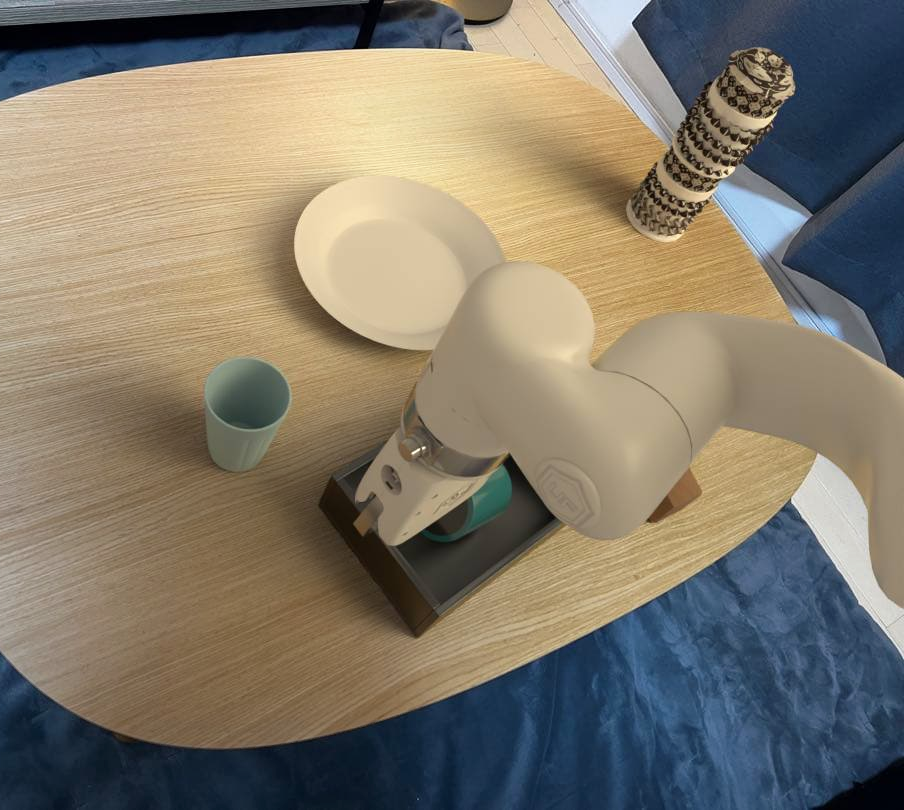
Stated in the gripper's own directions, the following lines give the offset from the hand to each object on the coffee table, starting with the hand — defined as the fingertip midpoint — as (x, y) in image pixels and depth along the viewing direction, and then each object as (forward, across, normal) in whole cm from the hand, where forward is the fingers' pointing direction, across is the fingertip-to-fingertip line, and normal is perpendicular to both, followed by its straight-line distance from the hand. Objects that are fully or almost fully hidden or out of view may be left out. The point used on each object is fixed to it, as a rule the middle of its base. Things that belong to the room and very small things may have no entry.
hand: (390, 526), depth 70 cm
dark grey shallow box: (+11, +11, 0) cm, 16 cm away
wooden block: (+11, +32, -9) cm, 35 cm away
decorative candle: (+11, +64, +17) cm, 67 cm away
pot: (+7, +14, 0) cm, 15 cm away
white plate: (+12, +25, +26) cm, 38 cm away
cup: (+12, -3, +17) cm, 21 cm away
